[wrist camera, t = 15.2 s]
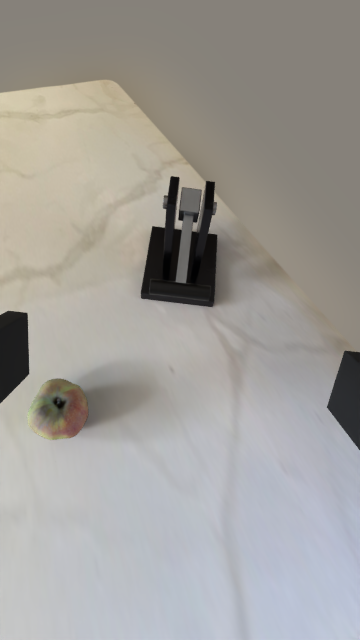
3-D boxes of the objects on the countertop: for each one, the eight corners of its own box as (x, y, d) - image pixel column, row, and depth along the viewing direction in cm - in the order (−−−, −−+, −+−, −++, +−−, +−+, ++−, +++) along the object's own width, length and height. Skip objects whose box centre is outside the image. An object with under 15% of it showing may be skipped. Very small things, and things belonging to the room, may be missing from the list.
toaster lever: (207, 303, 35) (210, 298, 33) (149, 296, 35) (148, 291, 33) (217, 203, 37) (220, 192, 35) (162, 196, 37) (162, 184, 35)
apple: (41, 465, 33) (21, 463, 28) (35, 392, 37) (16, 378, 31) (98, 449, 35) (89, 444, 29) (88, 380, 38) (78, 364, 33)
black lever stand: (212, 307, 44) (236, 240, 32) (141, 298, 44) (137, 228, 31) (215, 241, 49) (237, 162, 37) (152, 232, 49) (153, 151, 37)
